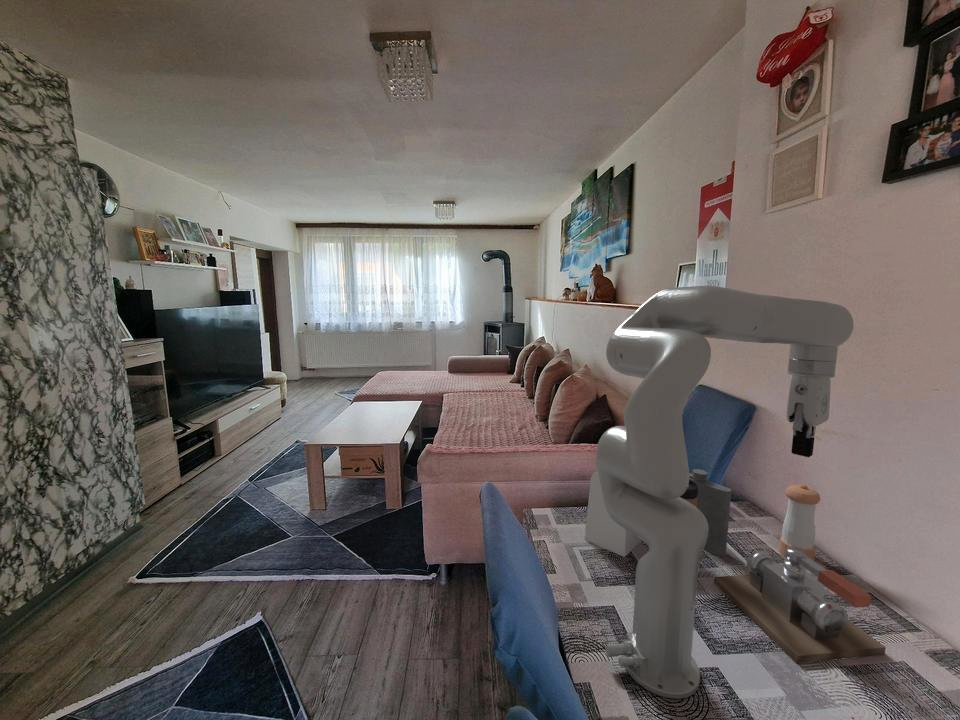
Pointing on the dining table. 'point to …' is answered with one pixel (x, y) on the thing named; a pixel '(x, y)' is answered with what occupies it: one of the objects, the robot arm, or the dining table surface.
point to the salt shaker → (800, 520)
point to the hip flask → (713, 510)
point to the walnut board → (796, 627)
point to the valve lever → (830, 579)
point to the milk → (606, 524)
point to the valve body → (796, 595)
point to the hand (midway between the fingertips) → (801, 454)
